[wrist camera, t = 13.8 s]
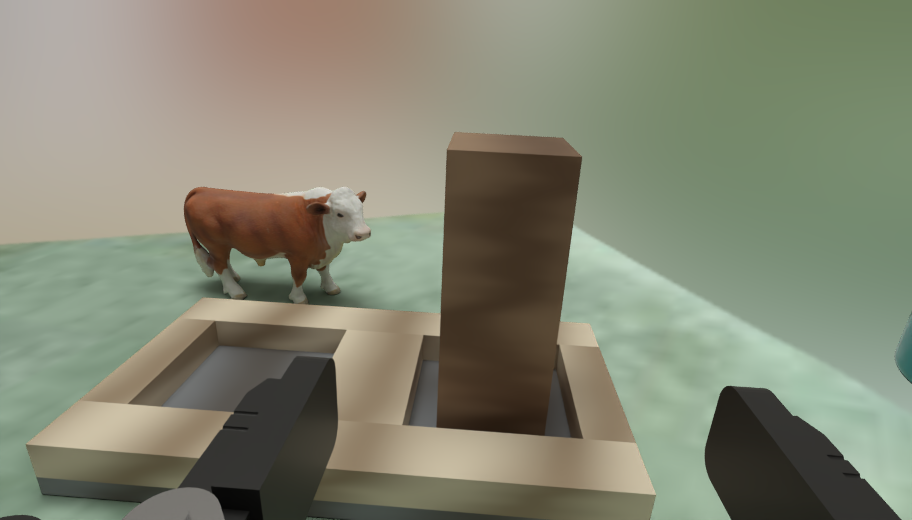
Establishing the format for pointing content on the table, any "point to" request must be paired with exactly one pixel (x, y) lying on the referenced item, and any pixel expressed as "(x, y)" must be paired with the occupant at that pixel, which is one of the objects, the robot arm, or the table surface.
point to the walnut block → (503, 278)
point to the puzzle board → (350, 421)
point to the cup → (905, 351)
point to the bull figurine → (274, 231)
